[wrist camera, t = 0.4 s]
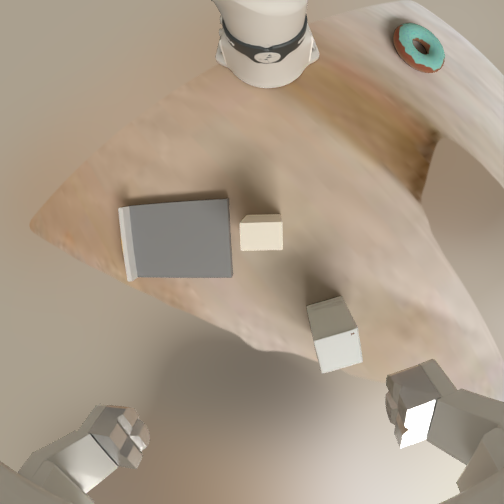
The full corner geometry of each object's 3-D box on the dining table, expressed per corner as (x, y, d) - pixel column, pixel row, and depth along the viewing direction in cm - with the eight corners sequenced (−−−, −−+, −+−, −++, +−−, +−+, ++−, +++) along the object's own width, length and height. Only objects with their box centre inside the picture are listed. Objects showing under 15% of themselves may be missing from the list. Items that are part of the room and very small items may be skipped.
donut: (439, 84, 40) (448, 79, 36) (389, 62, 40) (396, 54, 36) (438, 42, 37) (446, 35, 33) (390, 20, 37) (397, 11, 33)
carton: (280, 213, 49) (282, 222, 39) (281, 237, 50) (282, 251, 40) (246, 214, 50) (239, 223, 40) (247, 238, 51) (240, 252, 41)
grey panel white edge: (127, 205, 51) (117, 208, 47) (228, 198, 49) (224, 200, 45) (135, 274, 54) (126, 281, 50) (232, 274, 52) (229, 282, 49)
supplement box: (305, 305, 53) (312, 339, 41) (342, 294, 52) (359, 326, 40) (313, 336, 54) (321, 374, 42) (348, 326, 53) (364, 362, 41)
